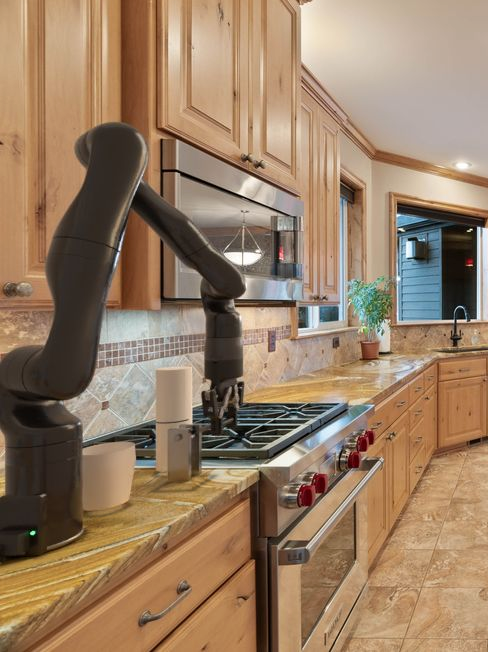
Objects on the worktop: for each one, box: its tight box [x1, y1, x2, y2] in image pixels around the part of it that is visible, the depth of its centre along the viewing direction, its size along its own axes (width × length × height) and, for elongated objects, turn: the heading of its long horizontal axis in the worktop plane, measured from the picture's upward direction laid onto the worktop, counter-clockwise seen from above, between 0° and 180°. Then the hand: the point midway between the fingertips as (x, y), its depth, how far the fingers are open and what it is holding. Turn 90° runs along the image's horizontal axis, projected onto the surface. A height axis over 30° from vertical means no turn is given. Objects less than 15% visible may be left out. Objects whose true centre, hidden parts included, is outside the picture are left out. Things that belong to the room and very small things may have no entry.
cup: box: [83, 441, 137, 512], centre depth 91 cm, size 9×9×12 cm
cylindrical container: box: [155, 365, 193, 473], centre depth 112 cm, size 7×7×25 cm
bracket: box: [167, 423, 203, 483], centre depth 104 cm, size 8×9×13 cm
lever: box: [189, 416, 234, 438], centre depth 105 cm, size 11×6×2 cm, turn 95°
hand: (224, 430), depth 105 cm, fingers open, 5 cm apart
